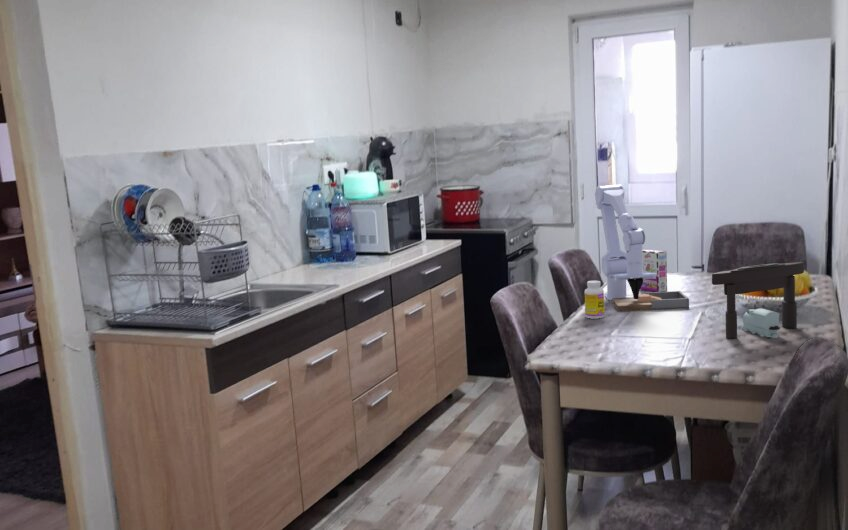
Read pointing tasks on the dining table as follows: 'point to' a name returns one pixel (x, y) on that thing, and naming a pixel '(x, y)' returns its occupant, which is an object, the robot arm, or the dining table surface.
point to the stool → (753, 282)
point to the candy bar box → (655, 270)
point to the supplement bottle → (594, 300)
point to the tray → (669, 300)
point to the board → (630, 304)
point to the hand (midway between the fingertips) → (635, 298)
